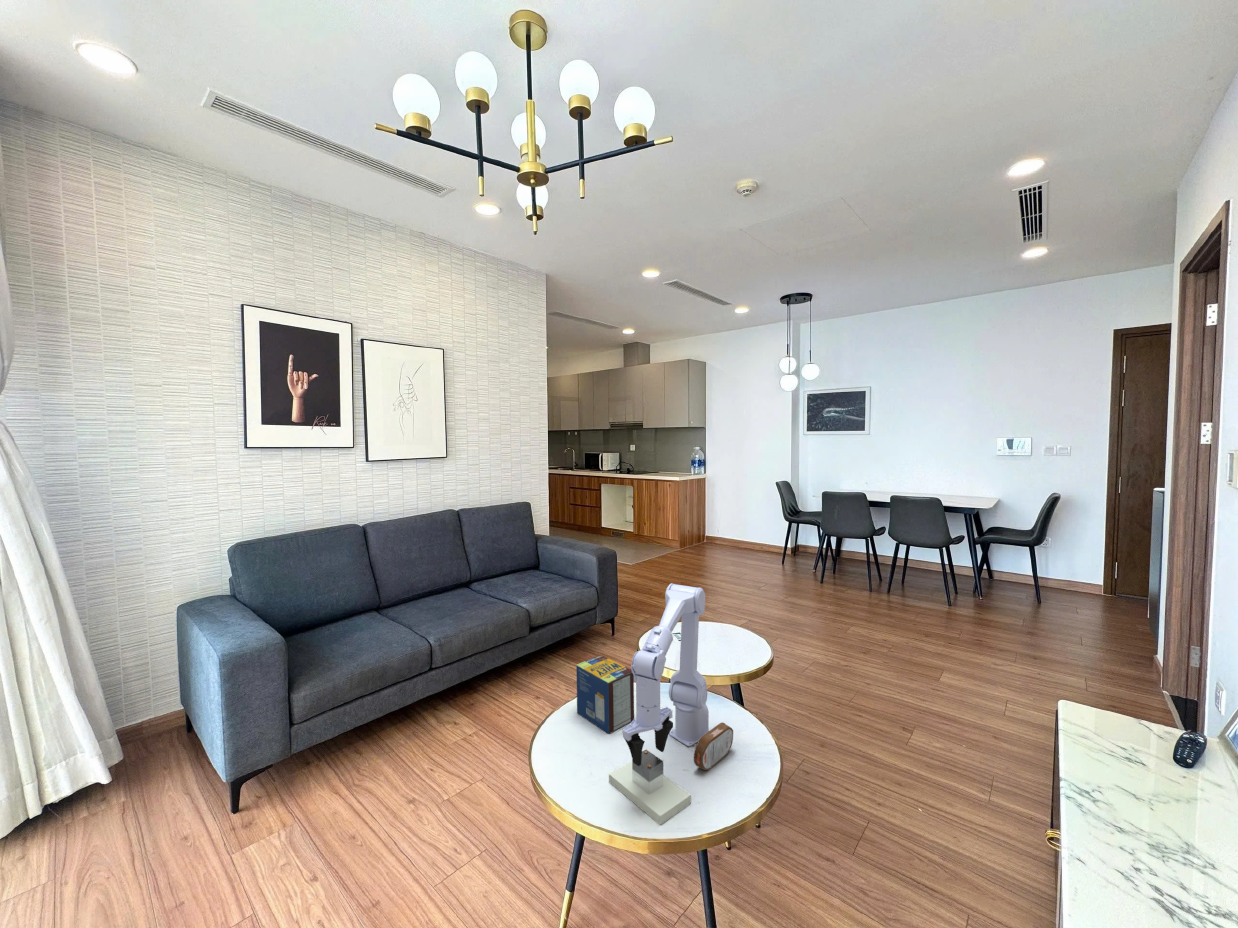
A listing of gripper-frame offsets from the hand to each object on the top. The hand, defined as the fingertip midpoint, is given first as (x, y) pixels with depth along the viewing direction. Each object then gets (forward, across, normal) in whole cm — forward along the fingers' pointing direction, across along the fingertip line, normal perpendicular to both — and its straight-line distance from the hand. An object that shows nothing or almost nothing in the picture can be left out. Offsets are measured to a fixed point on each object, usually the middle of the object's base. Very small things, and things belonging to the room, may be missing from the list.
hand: (648, 756), depth 119 cm
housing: (+7, 0, 0) cm, 7 cm away
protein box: (+9, +12, +32) cm, 35 cm away
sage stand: (+9, 0, 0) cm, 9 cm away
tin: (+9, +21, -3) cm, 23 cm away
